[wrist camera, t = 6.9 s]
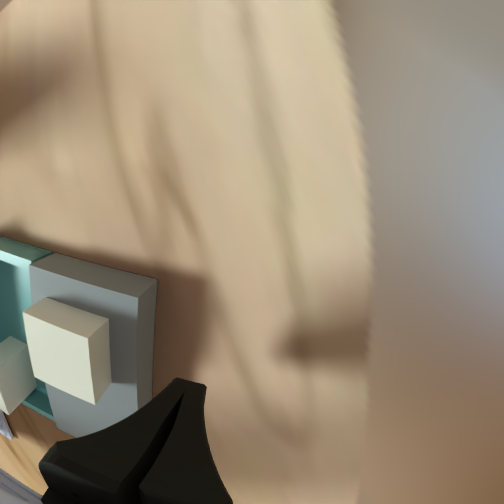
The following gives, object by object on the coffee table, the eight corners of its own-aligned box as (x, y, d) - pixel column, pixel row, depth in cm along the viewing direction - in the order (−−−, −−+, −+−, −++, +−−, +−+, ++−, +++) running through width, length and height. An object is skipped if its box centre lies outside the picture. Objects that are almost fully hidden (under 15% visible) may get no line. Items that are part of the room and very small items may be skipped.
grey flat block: (72, 408, 19) (57, 428, 17) (55, 252, 16) (28, 264, 13) (152, 439, 19) (141, 463, 16) (158, 279, 16) (138, 297, 13)
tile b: (53, 359, 15) (34, 376, 13) (46, 296, 14) (22, 311, 12) (111, 382, 15) (95, 405, 13) (108, 318, 14) (87, 338, 12)
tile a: (37, 386, 18) (19, 376, 18) (28, 344, 17) (10, 335, 17) (9, 415, 15) (-9, 403, 15) (-6, 372, 13) (-24, 360, 14)
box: (8, 374, 19) (-19, 398, 15) (-14, 231, 16) (-55, 244, 12) (69, 407, 19) (44, 439, 15) (52, 251, 16) (6, 271, 12)
